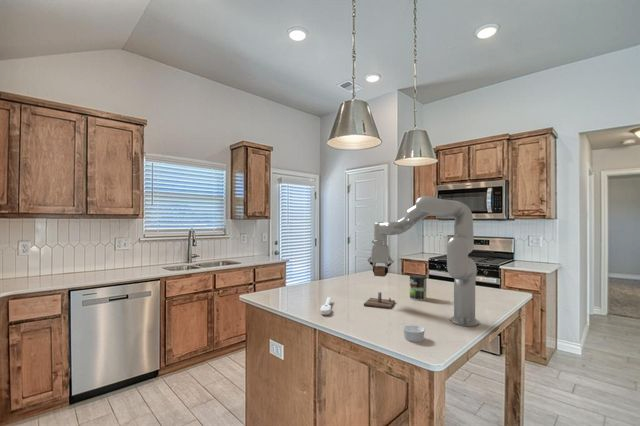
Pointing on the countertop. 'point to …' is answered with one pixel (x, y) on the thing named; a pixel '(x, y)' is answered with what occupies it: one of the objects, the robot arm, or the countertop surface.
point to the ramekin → (413, 333)
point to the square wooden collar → (379, 271)
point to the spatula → (326, 307)
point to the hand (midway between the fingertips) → (380, 273)
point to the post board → (379, 302)
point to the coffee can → (418, 287)
